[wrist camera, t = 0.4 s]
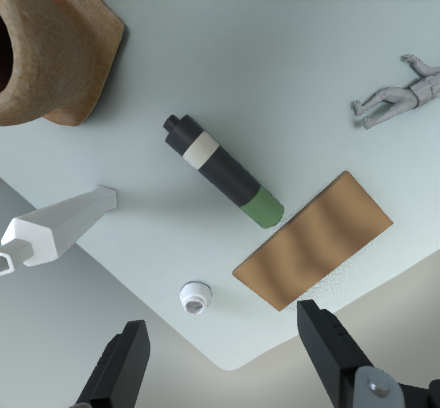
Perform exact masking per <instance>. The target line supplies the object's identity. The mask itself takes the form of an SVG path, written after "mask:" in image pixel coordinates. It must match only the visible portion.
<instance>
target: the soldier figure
mask: <svg viewBox="0 0 440 408" xmlns="http://www.w3.org/2000/svg"><path fill="white" fill-rule="evenodd" d="M404 56H406V57H409V58H407V59H406V60H404V61H410V62H412V65H413V66H414V68H415V69H416V70H417V71H418V72H419V73H420V74H422V75H423V76H428V77H425V78H423V79H421V80H420V82H418V83H416V84H414V85H412V86H410V87H408V88H407V89H402V88H399V87H388V88H385V89H384V90H382V91H380V92H378V93H376V95H375V96H374V97H373V98H372V99H371V100H370V101H369V102H367V103H366V104H365V105H364V106H363V105H360V101H356V102H355V105H354V106H355V108H356V114H357V116H359V115H361V114H362V113H364V111H366V110H368V109H369V108H371V107H372V106H374V105H376V104H378V103H380V102H381V101H382V100H383V99H384V100H386V101H389V102H393V103H395V105H393V106H391V107H390V109H389V110H387V111H386V112H385V113H383V114H382V115H380V116H379V117H377V118H376V119H374V120H370V117H369V116H366V117H364V119H363V121H364V123H365V124H364V128H365V129H366V130H367V129H369V128H371V127H372V126H374V125H376V124H378V123H381V122H383V121H385V120H388V119H390V118H391V117H394V116H395V115H398V114H401V113H404V112H407V111H409V110H411V109H415V108H417V107H419V106H421V105H423V104H424V103H426V102H427V101H429V100H431V99H432V100H433V99H435V98H438V97H440V67H428V66H427V65H425V64H424V63H423V62H421V61H420V60H419V59H417V58H416V57H415V56H414V55H410V54H406V55H404Z"/></svg>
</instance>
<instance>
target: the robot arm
mask: <svg viewBox="0 0 440 408" xmlns="http://www.w3.org/2000/svg"><path fill="white" fill-rule="evenodd" d="M297 326H298V331H299V335H300V338H301V340H302V342H303V344H304V346H305V348H306V350H307V352H308V354H309V357H310V358H311V361H312V363H313V365H314V367H315V369H316V371H317V373H318V375H319V377H320V379H321V381H322V383H323V385H324V387H325V389H326V391H327V393H328V396H329V397H330V400H331V402H332V404H333V406H334V408H440V379H437V380H433V381H432V382H431V383H430V384H429V389H424V388H419V387H414V386H409V385H404V384H400V383H398V382H396V381H395V380H394V379H393V378H392V377H391V376H390V375H389V374H387V373H386V372H384V371H383V370H380V369H378V368H376V367H374V366H373V364H372V363H371V362H370V361H369V359H368V358H367V356H366V355H365V354H364V353H363V351H362V350H361V349H360V347H359V346H358V345H357V343H356V342H355V341H354V340H353V338H352V337H351V336H350V335H349V334H348V332H347V330H346V329H345V328H344V327H343V326H342V324H341V323H340V321H339V320H338V319H337V317H336V316H335V315H333V314H332V313H331V312H329V311H328V310H326V309H321V310H320V309H319V307H318V306H317V305H316V303H315V302H314V300H312V299H310V300H302V301H298V302H297ZM149 356H150V341H149V337H148V332H147V328H146V324H145V321H144V320H136V321H129V322H128V323H127V324H126V326H125V328H124V330H123V332H122V334H117V335H116V336H115V337H114V338H113V339H112V340H111V341H110V342H109V343H108V344H107V346H106V348H105V350H104V352H103V354H102V357H100V359H99V361H98V363H97V366H96V367H95V369H94V370H93V372H92V374H91V376H90V378H89V380H88V382H87V384H86V385H85V387H84V389H83V391H82V393H81V395H80V396H79V398H78V400H77V402H76V404H75V405H73V406H71V407H70V408H134V406H135V403H136V400H137V396H138V393H139V389H140V386H141V383H142V380H143V376H144V373H145V370H146V366H147V363H148V360H149Z"/></svg>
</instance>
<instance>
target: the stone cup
mask: <svg viewBox="0 0 440 408" xmlns="http://www.w3.org/2000/svg"><path fill="white" fill-rule="evenodd" d="M124 27H125V25H124V23H123V22H122V20H121V19H120V18H119V17H118V16H117V15H116V14H115V13H114V12H113V11H112V10H111V9H110V8H109V7H107V5H106V4H105V3H104V2H103V1H102V0H0V126H11V125H18V124H22V123H26V122H29V121H33V120H35V119H37V118H40V117H44V118H46V119H48V120H50V121H52V122H54V123H57V124H60V125H68V126H78V125H80V124H81V123H83V122H84V121H85V120H86V119H87V117H88V116H89V115H90V114H91V112H92V110H93V109H94V107H95V105H96V104H97V102H98V100H99V97H100V95H101V93H102V90H103V87H104V84H105V82H106V79H107V76H108V74H109V71H110V69H111V66H112V63H113V60H114V57H115V55H116V52H117V49H118V46H119V44H120V41H121V38H122V35H123V31H124Z"/></svg>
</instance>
